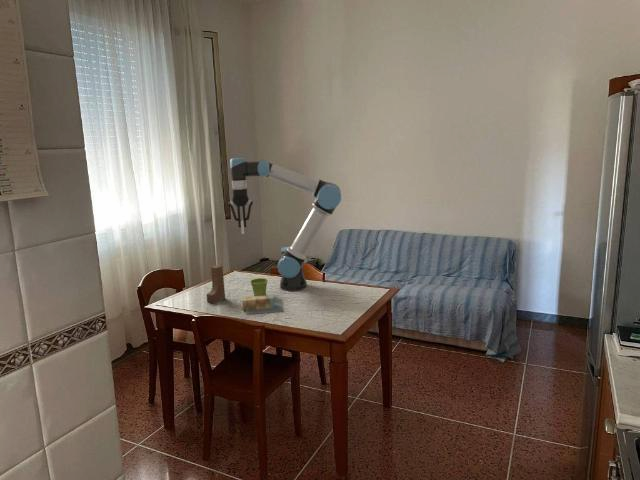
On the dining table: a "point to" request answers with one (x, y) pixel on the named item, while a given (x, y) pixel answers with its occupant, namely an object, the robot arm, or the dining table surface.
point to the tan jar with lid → (258, 302)
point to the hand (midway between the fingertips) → (242, 233)
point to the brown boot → (216, 285)
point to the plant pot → (259, 286)
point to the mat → (268, 309)
